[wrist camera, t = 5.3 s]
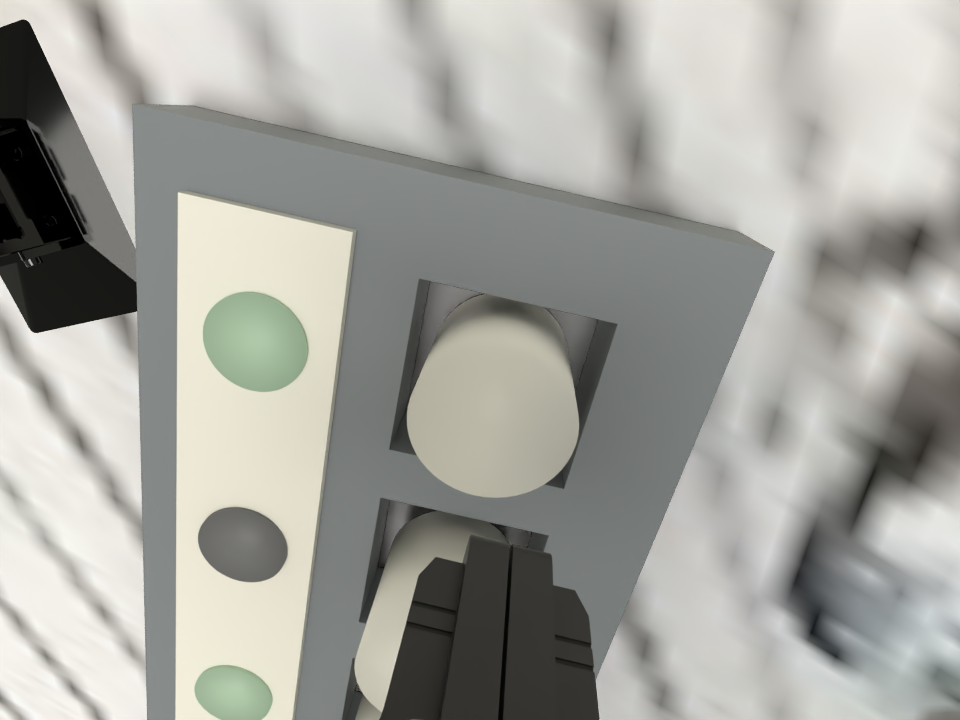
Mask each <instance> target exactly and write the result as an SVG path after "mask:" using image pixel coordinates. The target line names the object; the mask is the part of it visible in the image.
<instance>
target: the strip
mask: <svg viewBox="0 0 960 720" xmlns="http://www.w3.org/2000/svg"><path fill="white" fill-rule="evenodd" d="M356 231H357V230H356V229H351V228H347V227H343V226H338V225H334V224H330V223H325V222H321V221H317V220H312V219H308V218H303V217H299V216H295V215H290V214H286V213H282V212H277V211H273V210H269V209H264V208H260V207H256V206H251V205H247V204H242V203H238V202H234V201H229V200H225V199H221V198H216V197H212V196H208V195H203V194H199V193H194V192H190V191H186V190H185V191H181V192H178V266H177V483H176V700H175V720H295V712H296V704H297V696H298V688H299V680H300V672H301V664H302V657H303V649H304V641H305V633H306V625H307V617H308V609H309V601H310V593H311V586H312V578H313V570H314V562H315V554H316V546H317V538H318V530H319V523H320V515H321V507H322V499H323V491H324V483H325V475H326V467H327V459H328V452H329V444H330V436H331V428H332V420H333V412H334V404H335V396H336V389H337V381H338V373H339V365H340V357H341V349H342V341H343V333H344V325H345V318H346V310H347V302H348V294H349V286H350V278H351V270H352V262H353V254H354V247H355V239H356Z"/></svg>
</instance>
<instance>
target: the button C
mask: <svg viewBox="0 0 960 720" xmlns="http://www.w3.org/2000/svg"><path fill="white" fill-rule="evenodd" d="M407 429H408V434H409V438H410V441H411V444H412V447H413V449H414V451H415V453H416V455H417V456H418V458H419V459H420V461H421V462H422V463H423V464H424V466H425V467H426V468H427V469H428V470H429V471H430V472H431V473H432V474H433V475H434V476H435V477H437V478H438V479H439V480H441V481H442V482H444V483H445V484H447V485H449V486H451V487H452V488H454V489H457V490H459V491H462V492H464V493H468V494H471V495H475V496H481V497H490V498H502V497H511V496H517V495H520V494H524V493H527V492H530V491H532V490H535V489H537V488H539V487H540V486H542V485H544V484H546V483H547V482H548V481H550V480H551V479H552V478H554V477H555V476H556V475H557V474H558V473H559V472H560V471H561V470H562V469H563V467H564V466H565V465H566V464H567V462H568V460H569V459H570V457H571V455H572V453H573V451H574V448H575V446H576V443H577V439H578V433H579V415H578V409H577V402H576V396H575V390H574V384H573V378H572V371H571V365H570V359H569V353H568V347H567V342H566V339H565V336H564V333H563V331H562V329H561V327H560V325H559V324H558V322H557V321H556V319H555V318H554V317H553V316H552V315H551V314H550V313H549V312H548V311H547V310H546V309H545V308H544V307H541V306H537V305H533V304H528V303H524V302H520V301H515V300H511V299H506V298H502V297H498V296H493V295H489V294H484V295H479V296H477V297H474V298H471V299H469V300H467V301H465V302H463V303H462V304H461V305H459V306H458V307H456V308H455V309H454V310H453V311H452V312H451V313H450V314H449V315H448V316H447V318H446V319H445V320H444V322H443V323H442V325H441V327H440V329H439V331H438V333H437V336H436V338H435V340H434V343H433V345H432V347H431V350H430V352H429V355H428V357H427V359H426V362H425V364H424V366H423V369H422V371H421V373H420V376H419V378H418V380H417V383H416V385H415V387H414V390H413V392H412V394H411V397H410V400H409V404H408V409H407Z"/></svg>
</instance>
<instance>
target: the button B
mask: <svg viewBox="0 0 960 720" xmlns="http://www.w3.org/2000/svg"><path fill="white" fill-rule="evenodd" d="M470 535H475V536H479V537H483V538H488V539H492V540H496V541H500V542H504V543H508V544H509V542H508V541H507V539H506V538H505V537H504V535H503V534H502V533H501V532H500V531H499V530H498V529H497V528H496V527H495V526H493V525H492V524H490V523H489V522H487V521H482V520H478V519H473V518H469V517H464V516H460V515H455V514H451V513H447V512H442V511H435V512H430V513H426V514H423V515H421V516H418V517H416V518H414V519H413V520H411V521H409V522H408V523H407V524H405V525H404V526H403V527H402V528H401V529H400V530H399V532H398V533H397V535H396V536H395V538H394V540H393V543H392V546H391V549H390V552H389V555H388V558H387V561H386V565H385V568H384V571H383V574H382V577H381V580H380V583H379V586H378V589H377V592H376V596H375V599H374V602H373V605H372V608H371V611H370V614H369V617H368V620H367V623H366V627H365V630H364V633H363V636H362V639H361V642H360V645H359V648H358V651H357V655H356V658H355V666H354V669H355V676H356V680H357V683H358V685H359V687H360V689H361V691H362V693H363V694H364V696H365V697H366V698H367V699H368V700H369V702H370V703H371V704H372V705H373V706H375V707H376V708H377V709H378V710H379V711H381V712H382V711H383V708H384V704H385V701H386V697H387V693H388V689H389V685H390V682H391V678H392V674H393V670H394V666H395V663H396V659H397V655H398V651H399V648H400V644H401V640H402V636H403V632H404V629H405V625H406V621H407V617H408V614H409V610H410V606H411V602H412V598H413V595H414V591H415V587H416V583H417V579H418V576H419V574H420V573H421V572H422V571H423V570H424V569H425V568H426V567H427V566H428V565H429V563H430V562H431V561H432V560H433V559H434V558H435V557H439V558H443V559H447V560H451V561H455V562H459V563H462V562H463V559H464V555H465V551H466V547H467V544H468V540H469V537H470ZM509 547H510V544H509Z"/></svg>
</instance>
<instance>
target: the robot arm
mask: <svg viewBox="0 0 960 720" xmlns="http://www.w3.org/2000/svg"><path fill="white" fill-rule="evenodd" d="M591 644H592V642H591V632H590V622H589V615H588V614H587V612H586V610H585V608H584V606H583V604H582V602H581V601H580V599H579V597H578V595H577V593H576V591H575V590H572V589H568V588H564V587H559V586H555V585H553V564H552V555H551V554H550V553H546V552H542V551H538V550H534V549H530V548H526V547H521V546H517V545H513V544H512V545H511V546H510V547H509V544H508V543H504V542H500V541H496V540H492V539H488V538H483V537H479V536H475V535H470V537H469V540H468V544H467V547H466V551H465V555H464V559H463V562H462V563H459V562H455V561H451V560H447V559H443V558H439V557H435V558H434V559H433V560H432V561H431V562H430V563H429V565H428V566H427V567H426V568H425V569H424V570H423V571H422V572H421V573H420V574H419V576H418V579H417V583H416V587H415V591H414V595H413V598H412V602H411V606H410V610H409V614H408V617H407V621H406V625H405V629H404V632H403V636H402V640H401V644H400V648H399V651H398V655H397V659H396V663H395V666H394V670H393V674H392V678H391V682H390V685H389V689H388V693H387V697H386V701H385V704H384V708H383V711H382V714H381V717H380V719H379V720H599V711H598V701H597V691H596V681H595V672H593V668H594V662H593V652H592V649H591Z"/></svg>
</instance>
